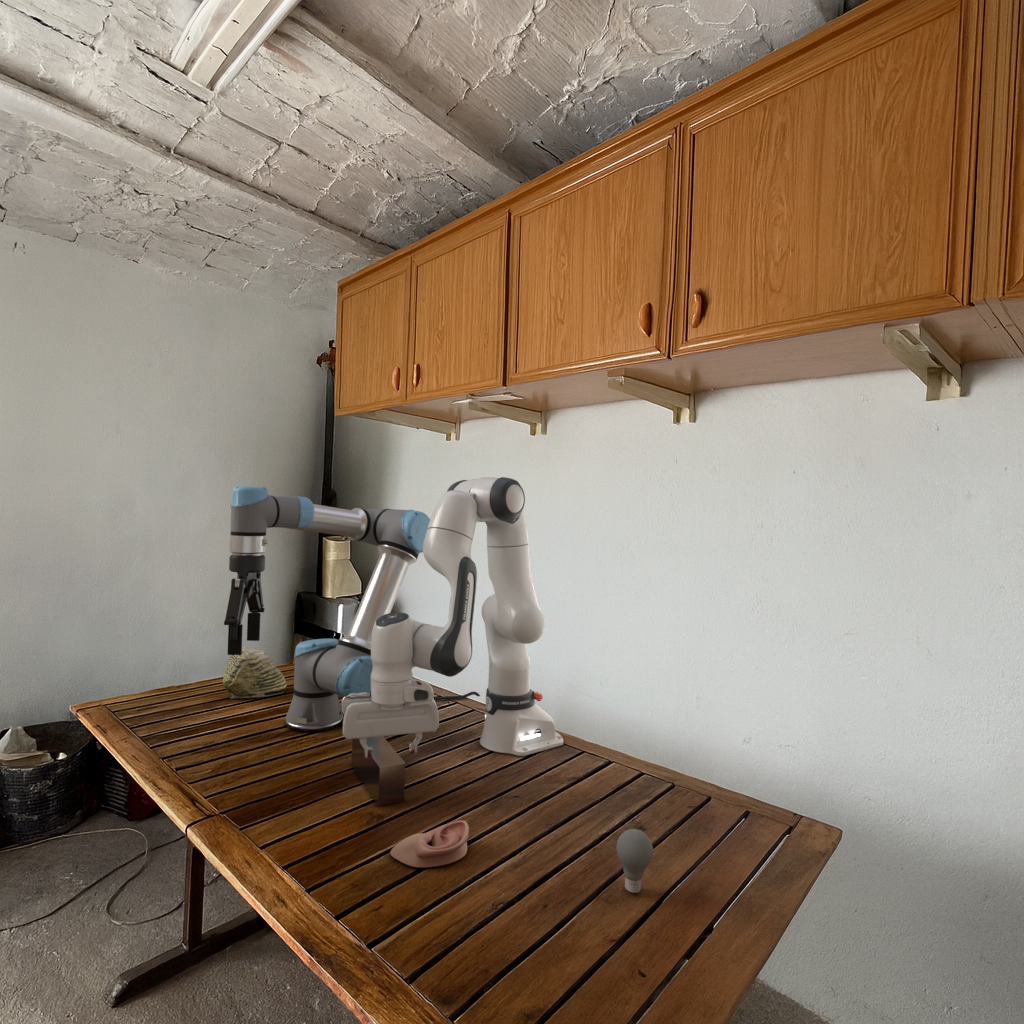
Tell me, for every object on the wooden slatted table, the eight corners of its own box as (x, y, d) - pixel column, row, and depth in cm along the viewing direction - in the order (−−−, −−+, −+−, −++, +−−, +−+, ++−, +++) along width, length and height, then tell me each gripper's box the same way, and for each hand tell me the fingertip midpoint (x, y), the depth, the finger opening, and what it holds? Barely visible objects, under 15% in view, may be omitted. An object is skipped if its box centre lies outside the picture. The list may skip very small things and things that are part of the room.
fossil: (218, 695, 195) (220, 647, 195) (278, 685, 208) (279, 640, 207) (228, 703, 189) (230, 653, 188) (289, 692, 201) (290, 645, 201)
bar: (351, 764, 150) (352, 730, 150) (374, 760, 153) (375, 727, 153) (378, 806, 131) (379, 767, 131) (404, 801, 133) (405, 763, 133)
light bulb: (610, 879, 108) (613, 822, 108) (644, 879, 109) (647, 822, 109) (619, 902, 102) (622, 840, 102) (655, 901, 103) (658, 840, 103)
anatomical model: (384, 839, 110) (407, 809, 122) (383, 862, 111) (407, 829, 122) (457, 851, 108) (474, 819, 119) (456, 874, 108) (473, 840, 119)
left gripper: (248, 560, 132) (244, 661, 132) (278, 550, 156) (275, 635, 157) (210, 558, 131) (206, 660, 131) (247, 549, 156) (244, 634, 156)
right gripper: (341, 698, 129) (340, 765, 130) (440, 691, 135) (440, 755, 135) (340, 689, 135) (340, 753, 136) (436, 682, 141) (435, 744, 141)
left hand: (244, 647), depth 144 cm, fingers open, 13 cm apart
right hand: (391, 754), depth 136 cm, fingers open, 8 cm apart
